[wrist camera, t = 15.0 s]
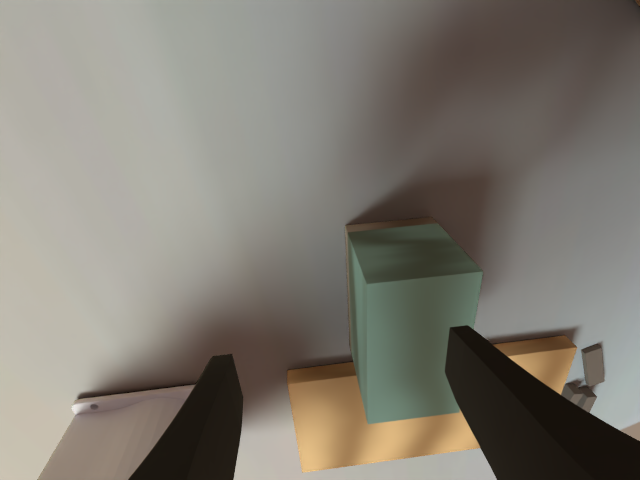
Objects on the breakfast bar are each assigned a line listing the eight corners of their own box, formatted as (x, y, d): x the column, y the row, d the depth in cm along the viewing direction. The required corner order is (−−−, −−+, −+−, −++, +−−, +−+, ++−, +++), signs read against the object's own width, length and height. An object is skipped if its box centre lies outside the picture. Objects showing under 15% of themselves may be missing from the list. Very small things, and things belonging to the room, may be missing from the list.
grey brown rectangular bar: (551, 428, 29) (560, 428, 29) (574, 393, 27) (583, 394, 27) (542, 415, 30) (550, 415, 30) (563, 381, 28) (572, 381, 28)
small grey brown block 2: (571, 430, 29) (580, 429, 29) (587, 397, 27) (597, 396, 27) (561, 417, 30) (570, 416, 30) (575, 385, 28) (585, 384, 29)
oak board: (301, 457, 29) (302, 472, 28) (287, 370, 25) (287, 384, 23) (536, 425, 30) (545, 438, 29) (564, 335, 25) (577, 347, 24)
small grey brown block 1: (604, 381, 28) (596, 373, 28) (601, 347, 26) (592, 340, 27) (589, 386, 28) (581, 378, 28) (585, 353, 26) (577, 345, 27)
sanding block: (349, 344, 24) (367, 424, 19) (344, 224, 20) (366, 284, 15) (420, 335, 24) (459, 412, 19) (430, 215, 20) (483, 271, 15)
